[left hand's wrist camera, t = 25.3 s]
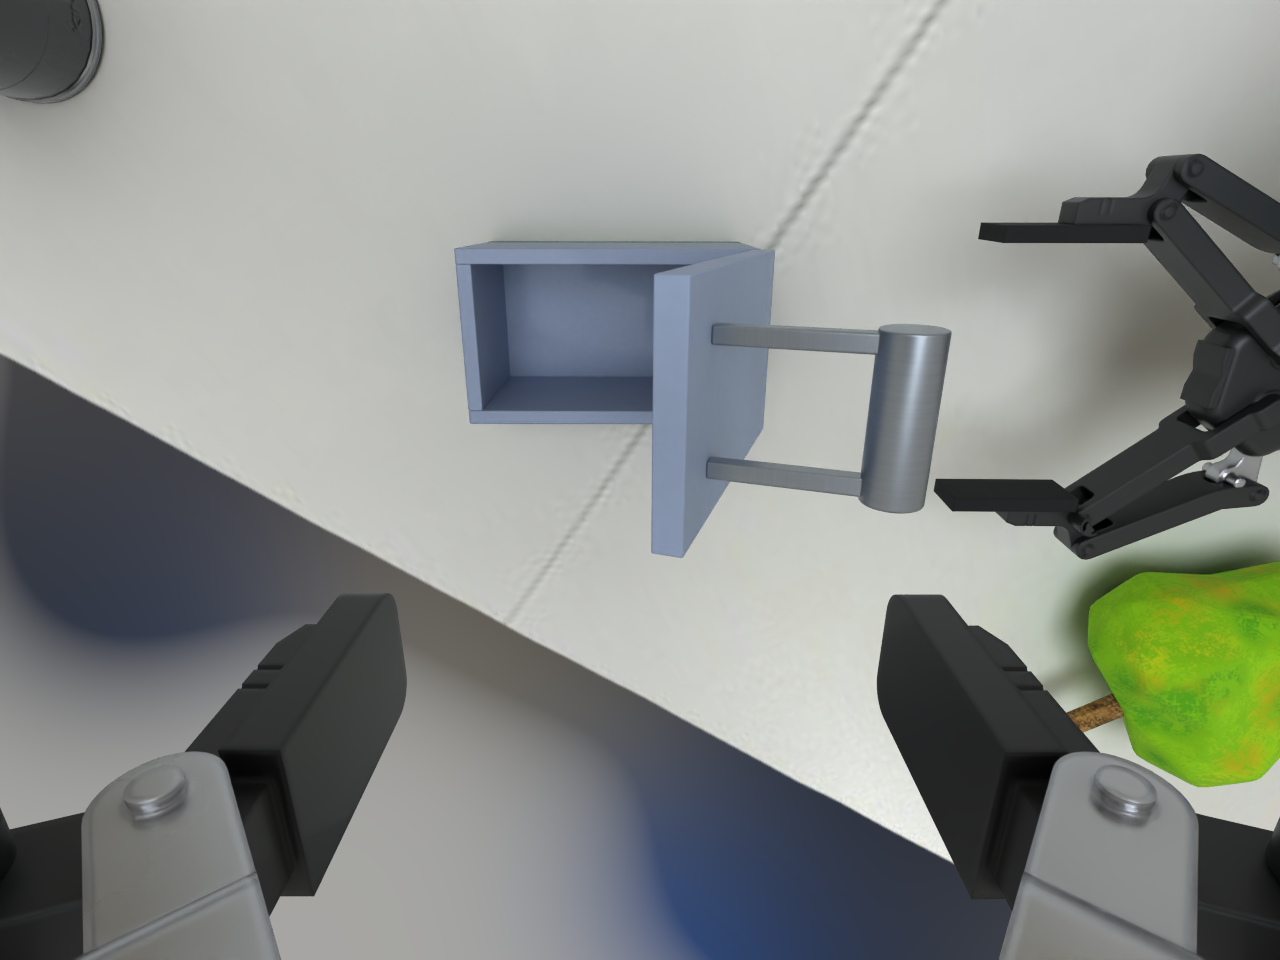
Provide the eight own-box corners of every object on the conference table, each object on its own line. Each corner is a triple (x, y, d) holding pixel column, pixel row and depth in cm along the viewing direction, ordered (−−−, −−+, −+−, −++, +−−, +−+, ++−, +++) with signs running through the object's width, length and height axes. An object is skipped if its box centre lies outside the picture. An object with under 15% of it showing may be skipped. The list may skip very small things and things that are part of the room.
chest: (501, 385, 49) (469, 424, 40) (491, 241, 45) (454, 248, 36) (730, 385, 49) (751, 425, 40) (737, 241, 45) (761, 248, 36)
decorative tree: (946, 737, 47) (1427, 533, 41) (897, 647, 57) (1280, 471, 51) (1038, 901, 53) (1478, 742, 46) (979, 793, 62) (1336, 650, 56)
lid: (650, 554, 25) (919, 596, 22) (653, 273, 21) (971, 282, 18) (742, 426, 39) (910, 442, 37) (752, 249, 36) (938, 252, 33)
